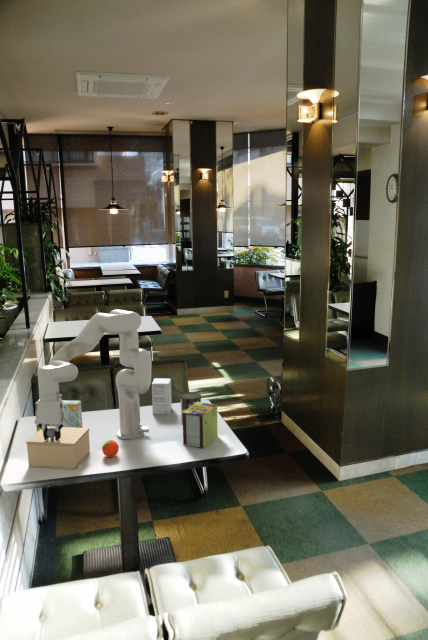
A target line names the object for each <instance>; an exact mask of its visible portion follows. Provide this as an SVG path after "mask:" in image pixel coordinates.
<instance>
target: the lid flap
mask: <svg viewBox="0 0 428 640" xmlns="http://www.w3.org/2000/svg"><path fill="white" fill-rule="evenodd" d="M47 428H48V430H47V436H48V437H49V438H48V439H47V440H44V437H43V431H42V429H40V430H39V431H38V432H37V431H36V433H34V434H33V435H32V436H30V438H29V439H28V440H26V445H27V444H42V445H63V446H75V445H76V444H77V443H78V442H79V441H80V440H81V439H82V438H83V436H84V435H85V434H86V433H87V432H88V431H89V432H90V427H83V428H76V427H62V428H61V429H60V431H61V437H60V439H59V440H58V441H56V440H55V431H56V429H55V427H52V426H47Z"/></svg>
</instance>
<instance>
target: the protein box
mask: <svg viewBox="0 0 428 640" xmlns="http://www.w3.org/2000/svg"><path fill="white" fill-rule="evenodd" d="M217 437H218V404H214V403H208V402H203V401H201V402H196V403H195V404H194V405H192V406H191V407H189V408H188V409H187V410H185V411H184V412H183V424H182V440H183V441H182V442H183V446H188V447H189V446H190V447H195V448H198V449H204V448H206V447H207V446H208V445H209V444H210V443H211V442H213V440H215V439H216V438H217Z"/></svg>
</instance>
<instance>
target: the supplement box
mask: <svg viewBox="0 0 428 640" xmlns="http://www.w3.org/2000/svg"><path fill="white" fill-rule="evenodd" d="M151 398H152V399H151V403H152V405H151V406H152V407H151V408H152V415H170V414H171V411H172V407H173V406H172V379H171V378H169V377H168V378H161V377H160V378H157V377H156V378H153V381H151Z"/></svg>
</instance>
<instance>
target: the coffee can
mask: <svg viewBox="0 0 428 640" xmlns="http://www.w3.org/2000/svg"><path fill="white" fill-rule="evenodd" d="M196 402H202V394H201V393H198V392H195V391H194V392H192V391H191V392H190V391H189V392H183V393H181V394H180V423H181V425H183V412H184V411H185V410H187V409H188V408H189V407H191V406H192V405H194V404H195V403H196Z"/></svg>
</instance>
